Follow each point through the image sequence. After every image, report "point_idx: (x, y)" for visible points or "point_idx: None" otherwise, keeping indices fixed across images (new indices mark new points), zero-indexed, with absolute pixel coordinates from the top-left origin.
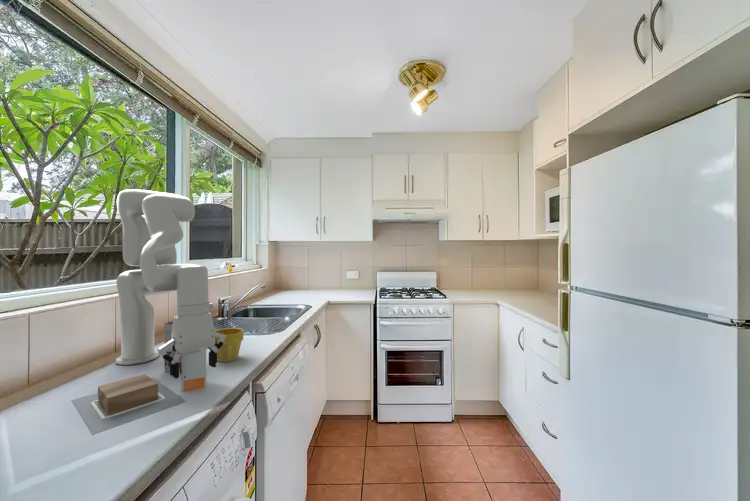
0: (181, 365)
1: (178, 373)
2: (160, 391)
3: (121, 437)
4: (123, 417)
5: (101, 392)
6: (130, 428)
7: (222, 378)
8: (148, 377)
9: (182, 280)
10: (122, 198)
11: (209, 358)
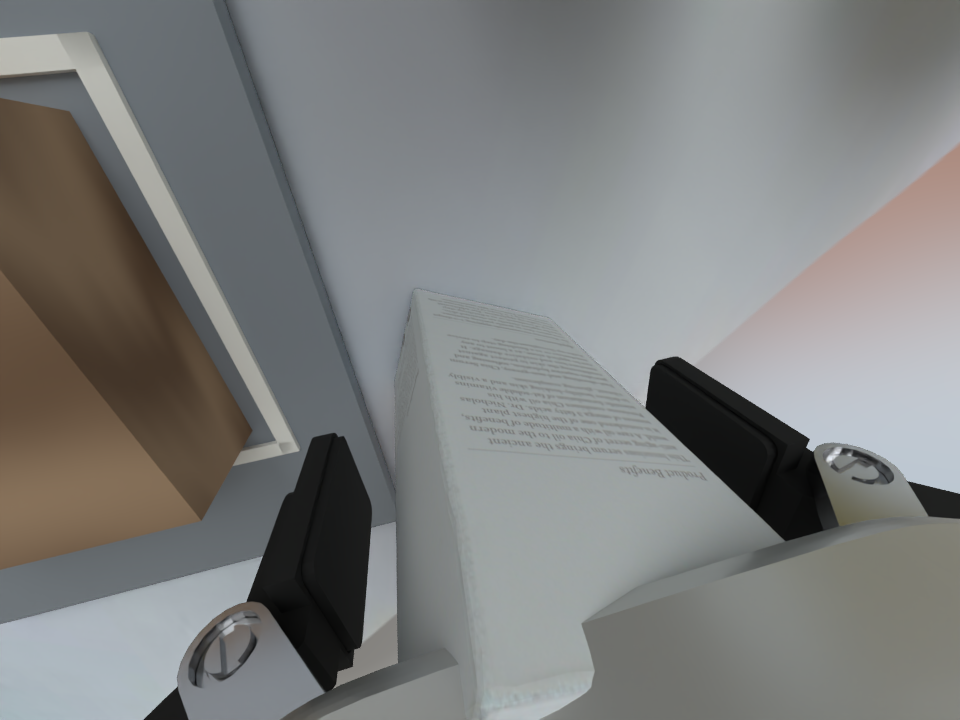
0: (398, 561)
1: (365, 540)
2: (252, 307)
3: (148, 618)
4: None
5: None
6: None
7: (661, 278)
8: (11, 302)
9: None
10: None
11: (703, 418)
